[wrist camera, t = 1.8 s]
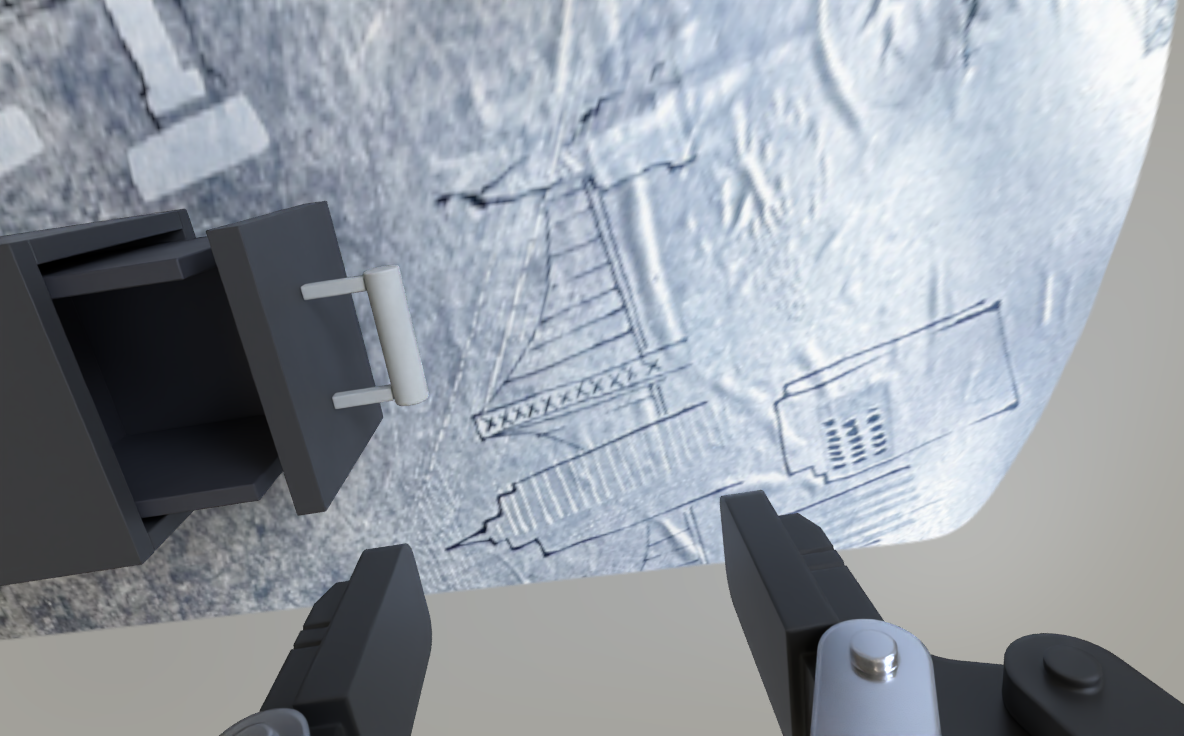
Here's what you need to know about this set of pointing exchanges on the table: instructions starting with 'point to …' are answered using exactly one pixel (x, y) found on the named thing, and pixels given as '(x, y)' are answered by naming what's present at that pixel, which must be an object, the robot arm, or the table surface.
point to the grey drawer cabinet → (63, 419)
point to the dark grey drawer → (235, 359)
